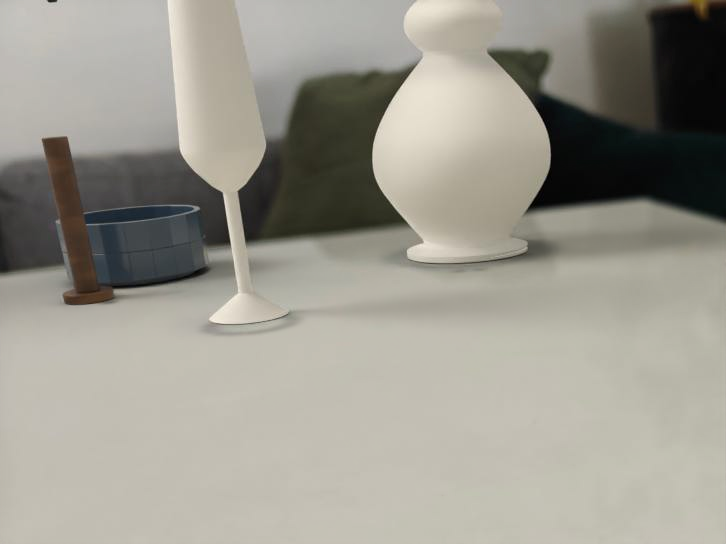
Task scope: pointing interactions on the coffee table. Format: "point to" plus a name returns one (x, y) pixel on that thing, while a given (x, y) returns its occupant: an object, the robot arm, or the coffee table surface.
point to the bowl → (144, 244)
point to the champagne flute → (219, 126)
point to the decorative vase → (460, 139)
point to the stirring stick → (73, 225)
